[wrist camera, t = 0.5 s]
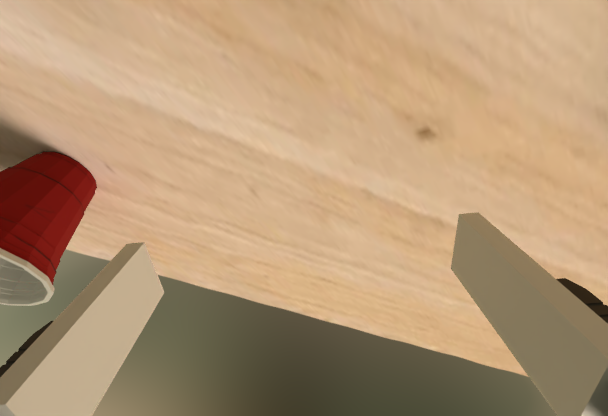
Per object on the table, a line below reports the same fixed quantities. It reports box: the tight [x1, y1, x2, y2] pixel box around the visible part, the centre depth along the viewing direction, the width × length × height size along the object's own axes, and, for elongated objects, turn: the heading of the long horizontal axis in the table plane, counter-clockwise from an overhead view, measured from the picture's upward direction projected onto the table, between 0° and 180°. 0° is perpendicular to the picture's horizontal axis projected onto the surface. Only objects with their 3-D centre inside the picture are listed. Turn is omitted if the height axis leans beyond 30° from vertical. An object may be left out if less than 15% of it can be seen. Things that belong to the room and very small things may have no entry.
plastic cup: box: [0, 152, 97, 306], centre depth 26 cm, size 11×11×12 cm
